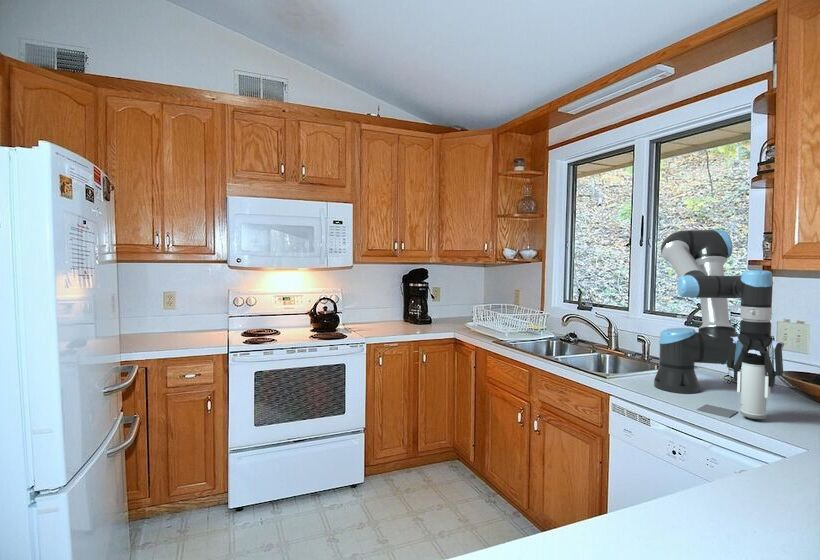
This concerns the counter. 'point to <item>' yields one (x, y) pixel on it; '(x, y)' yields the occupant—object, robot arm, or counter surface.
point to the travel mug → (753, 386)
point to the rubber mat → (717, 410)
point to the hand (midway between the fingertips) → (753, 393)
